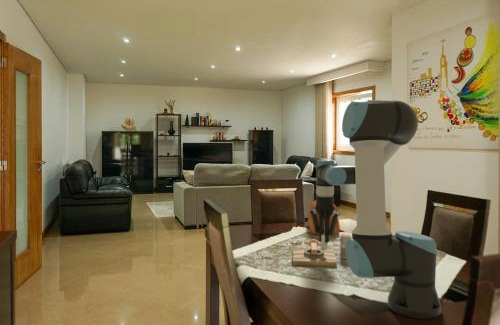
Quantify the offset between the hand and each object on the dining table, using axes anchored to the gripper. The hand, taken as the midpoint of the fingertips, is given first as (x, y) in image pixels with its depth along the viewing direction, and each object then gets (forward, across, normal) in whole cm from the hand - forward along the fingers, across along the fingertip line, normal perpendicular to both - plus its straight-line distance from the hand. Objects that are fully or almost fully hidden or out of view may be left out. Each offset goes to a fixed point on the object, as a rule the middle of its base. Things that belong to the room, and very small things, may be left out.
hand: (324, 249), depth 165 cm
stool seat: (+5, +4, +1) cm, 6 cm away
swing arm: (+1, +5, -1) cm, 5 cm away
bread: (+5, +25, -52) cm, 58 cm away
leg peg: (+5, -6, -10) cm, 12 cm away
